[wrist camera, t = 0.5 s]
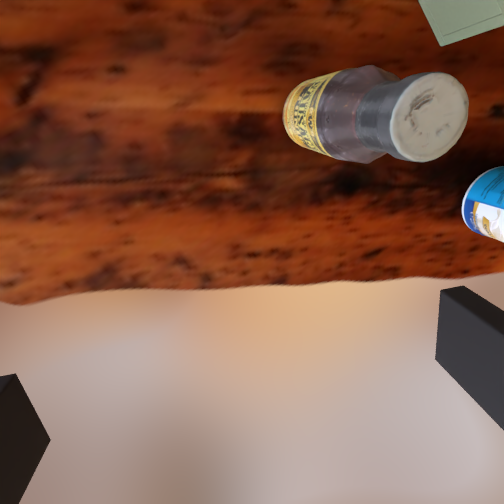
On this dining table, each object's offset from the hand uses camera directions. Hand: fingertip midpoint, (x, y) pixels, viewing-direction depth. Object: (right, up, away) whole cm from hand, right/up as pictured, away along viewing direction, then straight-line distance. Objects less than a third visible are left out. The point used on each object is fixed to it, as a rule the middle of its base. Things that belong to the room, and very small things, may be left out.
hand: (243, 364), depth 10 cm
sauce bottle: (+6, +17, +24) cm, 30 cm away
